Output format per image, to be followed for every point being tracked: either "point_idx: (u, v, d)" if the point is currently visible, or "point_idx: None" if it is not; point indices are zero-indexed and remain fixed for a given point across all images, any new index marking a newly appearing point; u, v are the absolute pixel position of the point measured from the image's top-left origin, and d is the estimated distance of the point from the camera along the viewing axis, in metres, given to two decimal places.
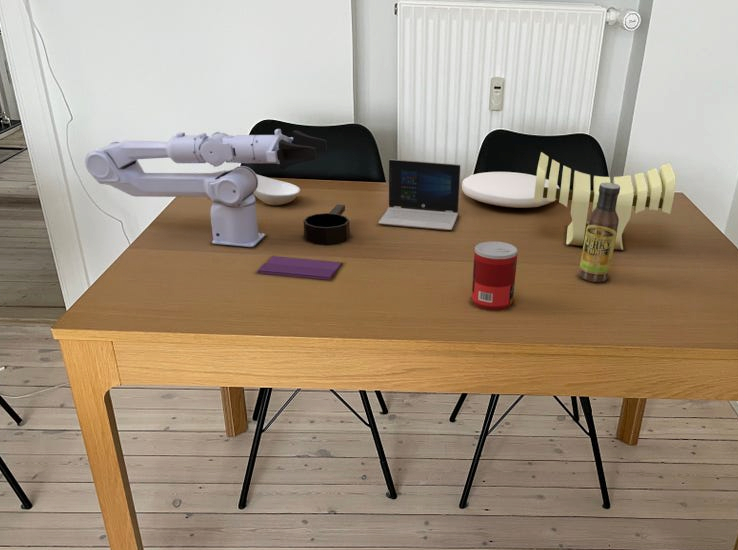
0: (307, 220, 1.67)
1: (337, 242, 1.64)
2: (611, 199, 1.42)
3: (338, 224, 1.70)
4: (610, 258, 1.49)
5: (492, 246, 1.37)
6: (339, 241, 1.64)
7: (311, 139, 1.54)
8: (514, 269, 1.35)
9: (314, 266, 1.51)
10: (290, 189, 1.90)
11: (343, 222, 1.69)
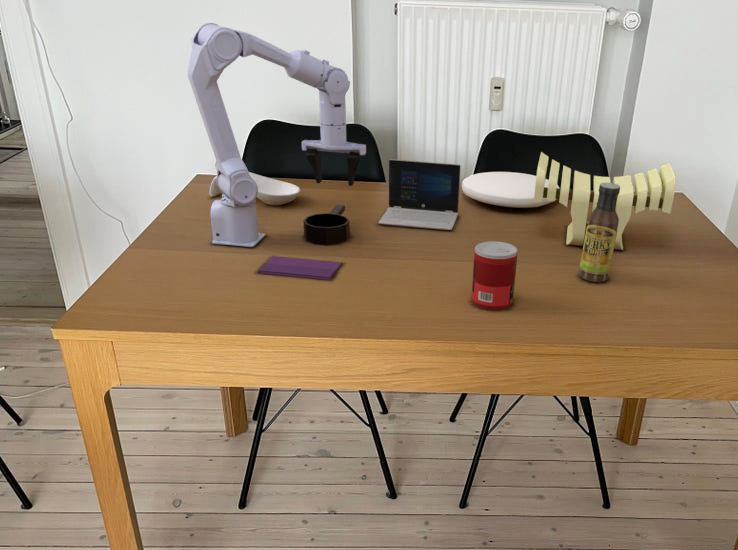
0: (307, 220, 1.67)
1: (337, 242, 1.64)
2: (611, 199, 1.42)
3: (338, 224, 1.70)
4: (610, 258, 1.49)
5: (492, 246, 1.37)
6: (339, 241, 1.64)
7: (320, 167, 1.69)
8: (514, 269, 1.35)
9: (314, 266, 1.51)
10: (290, 189, 1.90)
11: (343, 222, 1.69)
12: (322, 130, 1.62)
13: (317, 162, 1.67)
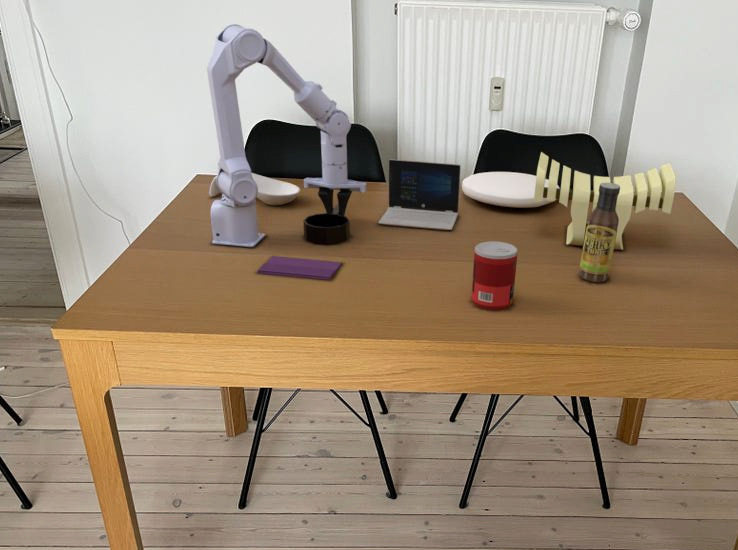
0: (307, 220, 1.67)
1: (337, 242, 1.64)
2: (611, 199, 1.42)
3: (338, 224, 1.70)
4: (610, 258, 1.49)
5: (492, 246, 1.37)
6: (339, 241, 1.64)
7: (332, 204, 1.73)
8: (514, 269, 1.35)
9: (314, 266, 1.51)
10: (290, 189, 1.90)
11: (343, 222, 1.69)
12: (324, 169, 1.66)
13: (329, 200, 1.71)
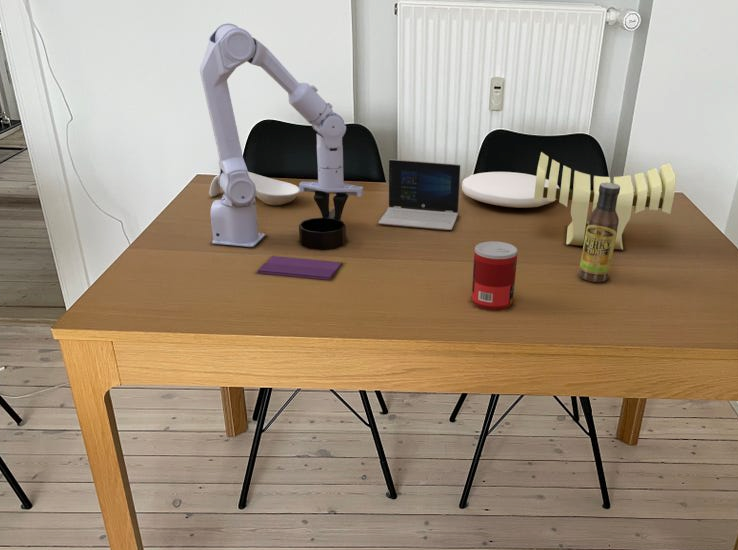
0: (302, 224, 1.64)
1: (333, 247, 1.61)
2: (611, 199, 1.42)
3: (334, 228, 1.68)
4: (610, 258, 1.49)
5: (492, 246, 1.37)
6: (335, 246, 1.61)
7: (328, 209, 1.71)
8: (514, 269, 1.35)
9: (314, 266, 1.51)
10: (290, 189, 1.90)
11: (339, 226, 1.66)
12: (319, 173, 1.63)
13: (325, 204, 1.68)
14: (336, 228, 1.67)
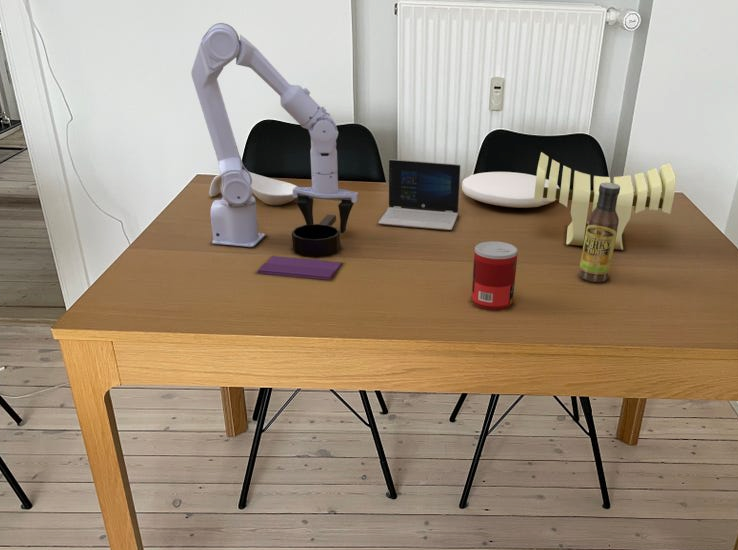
0: (296, 231, 1.60)
1: (327, 255, 1.57)
2: (611, 199, 1.42)
3: (328, 235, 1.63)
4: (610, 258, 1.49)
5: (492, 246, 1.37)
6: (329, 254, 1.57)
7: (312, 214, 1.67)
8: (514, 269, 1.35)
9: (314, 266, 1.51)
10: (290, 189, 1.90)
11: (333, 233, 1.62)
12: (313, 178, 1.59)
13: (308, 209, 1.64)
14: (330, 235, 1.63)
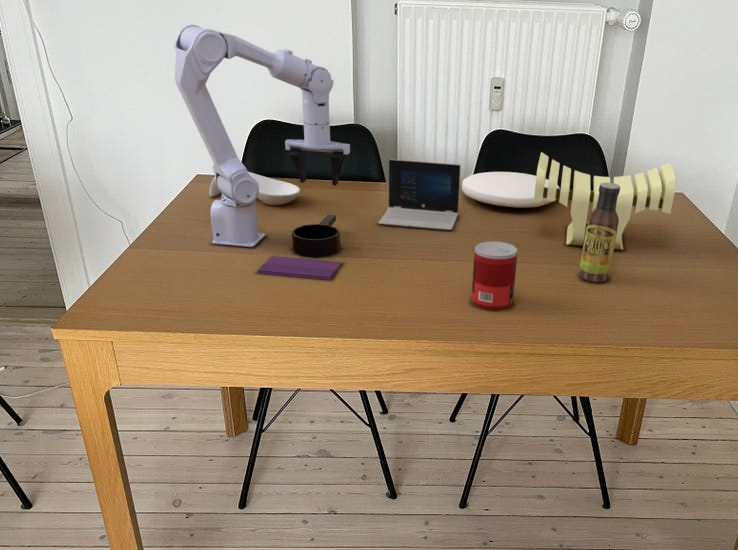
0: (296, 231, 1.60)
1: (327, 255, 1.57)
2: (611, 199, 1.42)
3: (328, 235, 1.63)
4: (610, 258, 1.49)
5: (492, 246, 1.37)
6: (329, 254, 1.57)
7: (304, 167, 1.69)
8: (514, 269, 1.35)
9: (314, 266, 1.51)
10: (290, 189, 1.90)
11: (333, 233, 1.62)
12: (305, 129, 1.61)
13: (301, 161, 1.66)
14: (330, 235, 1.63)
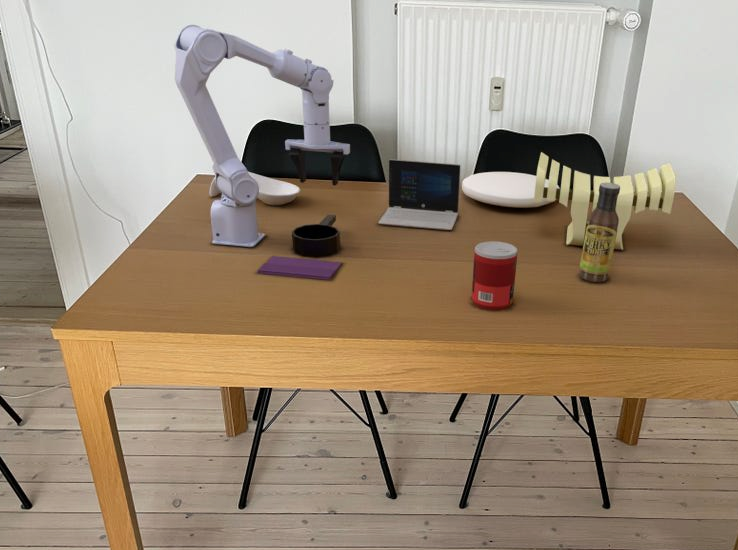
0: (296, 231, 1.60)
1: (327, 255, 1.57)
2: (611, 199, 1.42)
3: (328, 235, 1.63)
4: (610, 258, 1.49)
5: (492, 246, 1.37)
6: (329, 254, 1.57)
7: (304, 167, 1.69)
8: (514, 269, 1.35)
9: (314, 266, 1.51)
10: (290, 189, 1.90)
11: (333, 233, 1.62)
12: (305, 129, 1.61)
13: (301, 161, 1.66)
14: (330, 235, 1.63)
